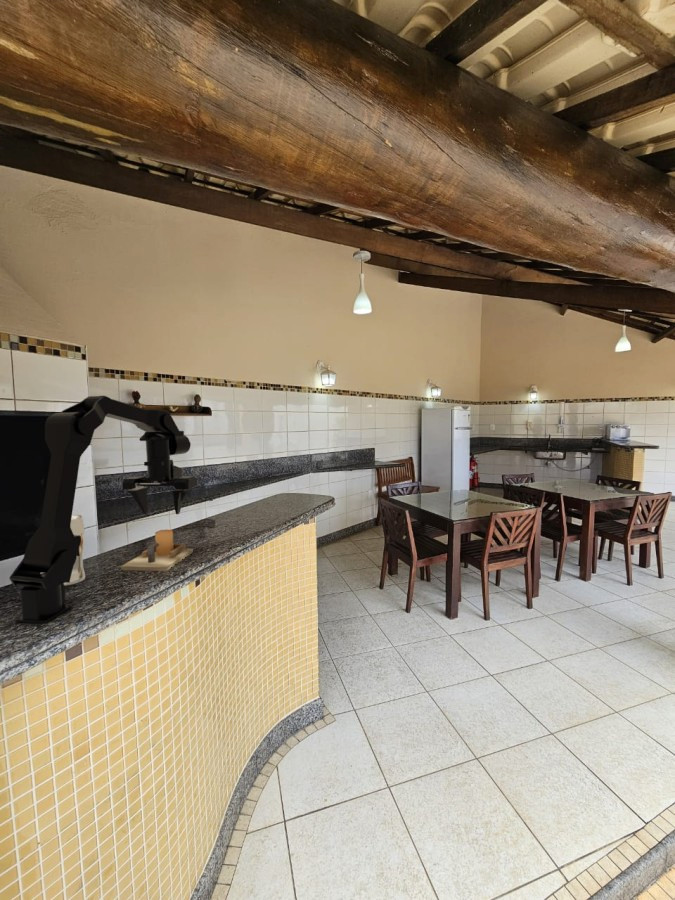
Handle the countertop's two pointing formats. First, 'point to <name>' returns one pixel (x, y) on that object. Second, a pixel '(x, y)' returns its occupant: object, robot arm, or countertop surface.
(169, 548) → the orange rounded capsule
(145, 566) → the hook board
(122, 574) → the countertop surface
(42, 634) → the countertop surface
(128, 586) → the countertop surface
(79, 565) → the silver tall piece
